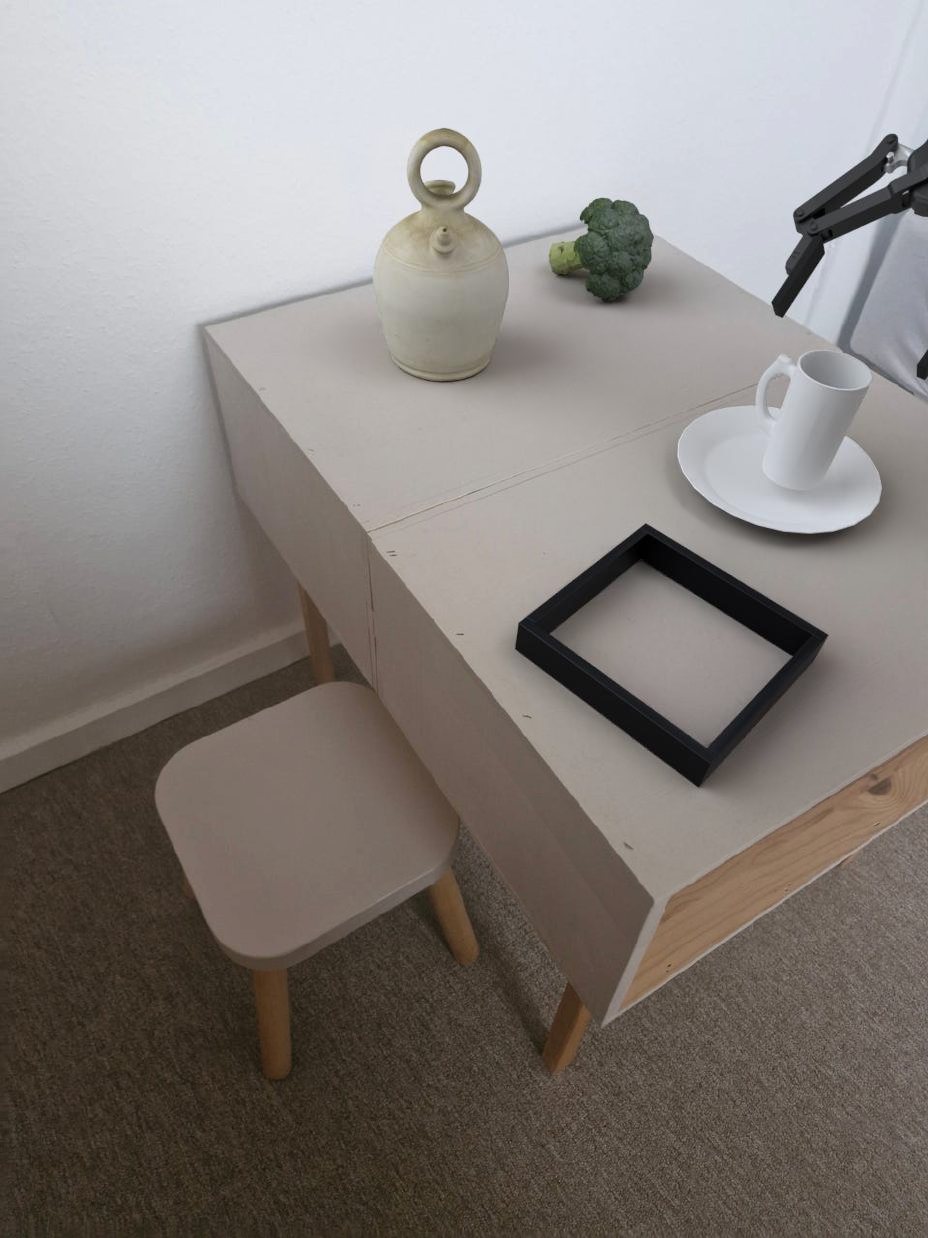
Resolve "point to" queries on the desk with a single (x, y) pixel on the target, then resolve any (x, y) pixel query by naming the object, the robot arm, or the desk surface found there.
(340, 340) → the desk surface
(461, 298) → the jug
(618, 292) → the vegetable
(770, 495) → the plate
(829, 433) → the mug
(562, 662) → the black square frame
